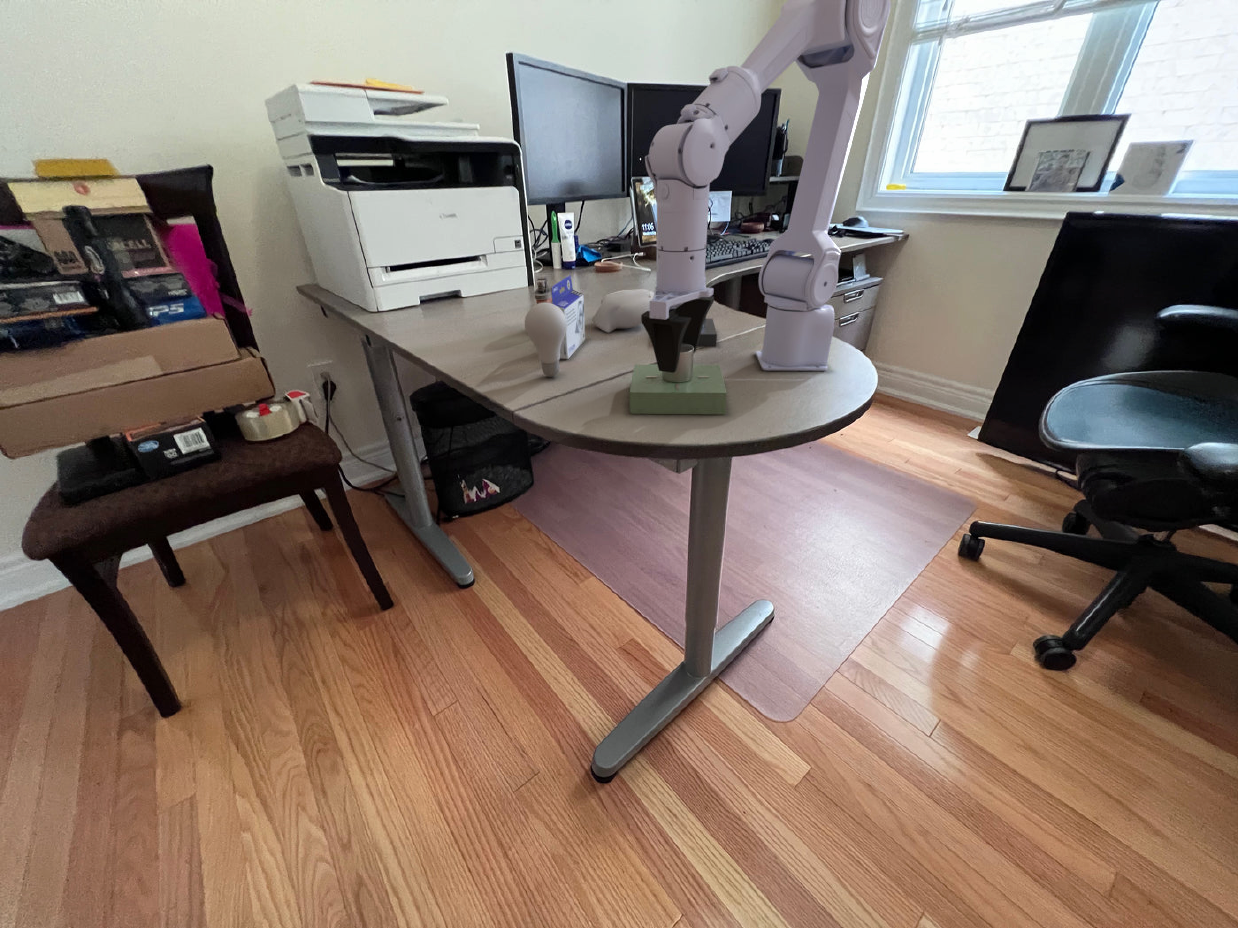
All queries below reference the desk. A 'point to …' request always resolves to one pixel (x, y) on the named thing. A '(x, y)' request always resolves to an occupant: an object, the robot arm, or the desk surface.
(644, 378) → the panel
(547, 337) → the lightbulb
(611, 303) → the shell shaped sculpture
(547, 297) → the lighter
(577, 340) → the ink box
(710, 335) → the button base
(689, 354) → the lock knob
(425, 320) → the desk surface
